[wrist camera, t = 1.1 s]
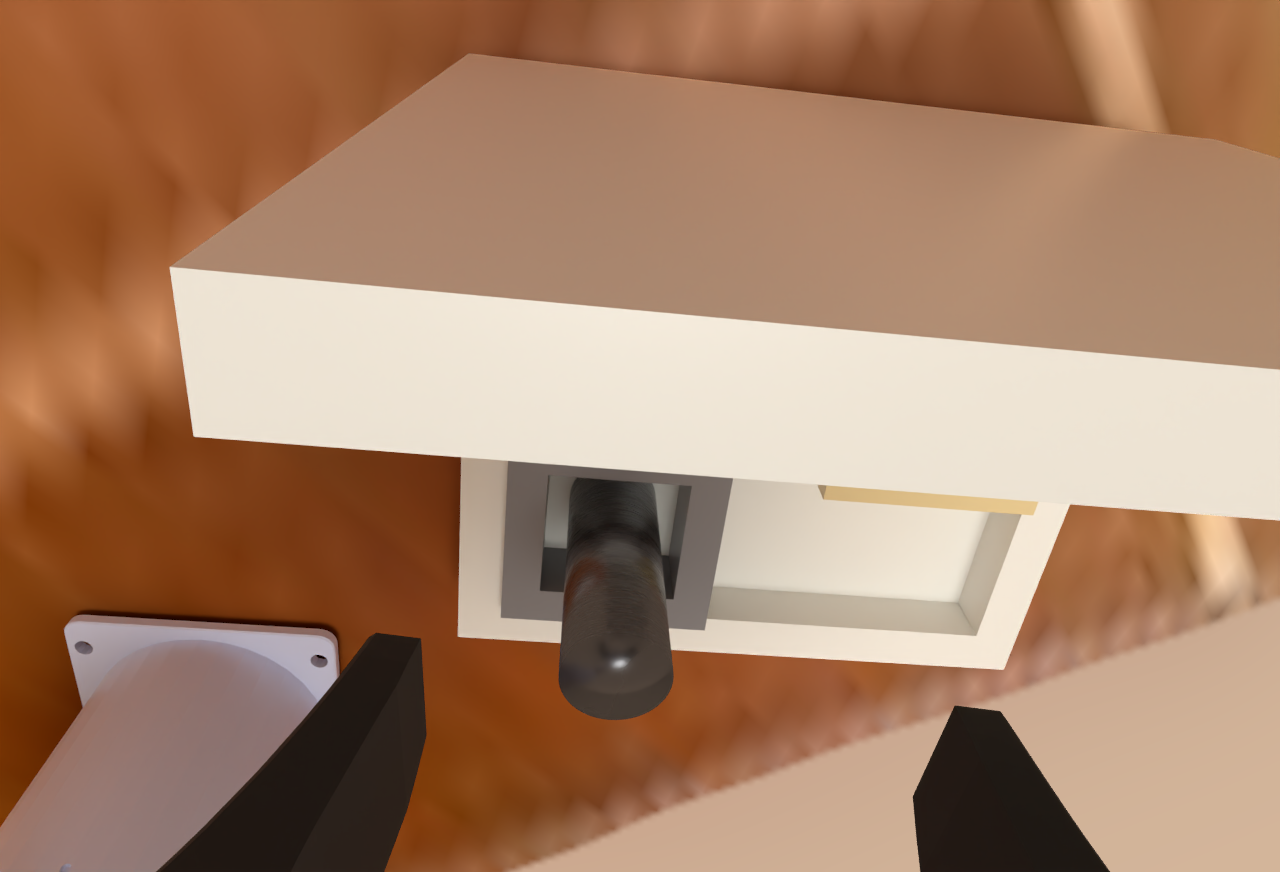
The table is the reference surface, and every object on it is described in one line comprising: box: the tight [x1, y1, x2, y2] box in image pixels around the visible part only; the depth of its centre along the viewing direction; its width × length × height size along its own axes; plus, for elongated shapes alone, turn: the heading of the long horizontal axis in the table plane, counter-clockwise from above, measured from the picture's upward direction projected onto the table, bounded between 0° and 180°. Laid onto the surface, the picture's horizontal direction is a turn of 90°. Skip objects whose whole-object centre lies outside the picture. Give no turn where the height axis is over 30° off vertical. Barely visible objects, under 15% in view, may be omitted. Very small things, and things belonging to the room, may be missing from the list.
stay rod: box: [559, 477, 673, 720], centre depth 22 cm, size 2×2×7 cm
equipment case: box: [170, 53, 1280, 670], centre depth 17 cm, size 15×16×16 cm
